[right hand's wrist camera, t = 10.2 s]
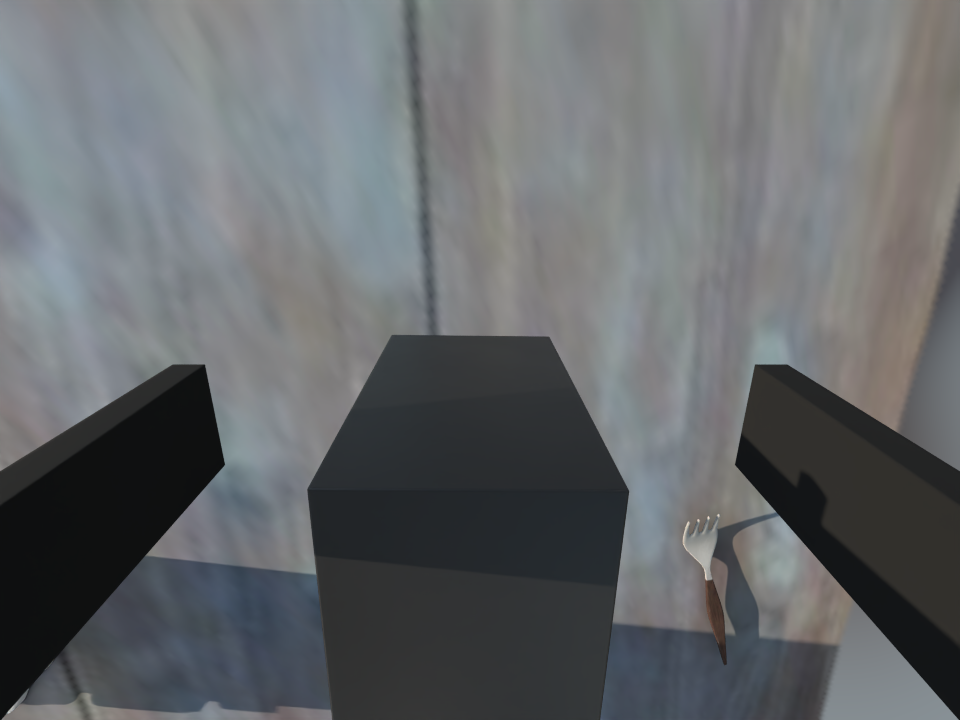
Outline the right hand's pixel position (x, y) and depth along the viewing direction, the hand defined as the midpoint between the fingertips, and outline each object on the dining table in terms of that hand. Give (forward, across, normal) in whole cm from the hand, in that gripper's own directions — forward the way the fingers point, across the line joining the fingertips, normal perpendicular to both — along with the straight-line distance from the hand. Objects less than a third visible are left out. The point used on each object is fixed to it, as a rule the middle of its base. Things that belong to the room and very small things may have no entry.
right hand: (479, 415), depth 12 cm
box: (+8, -1, -14) cm, 16 cm away
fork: (+20, +18, -25) cm, 36 cm away
